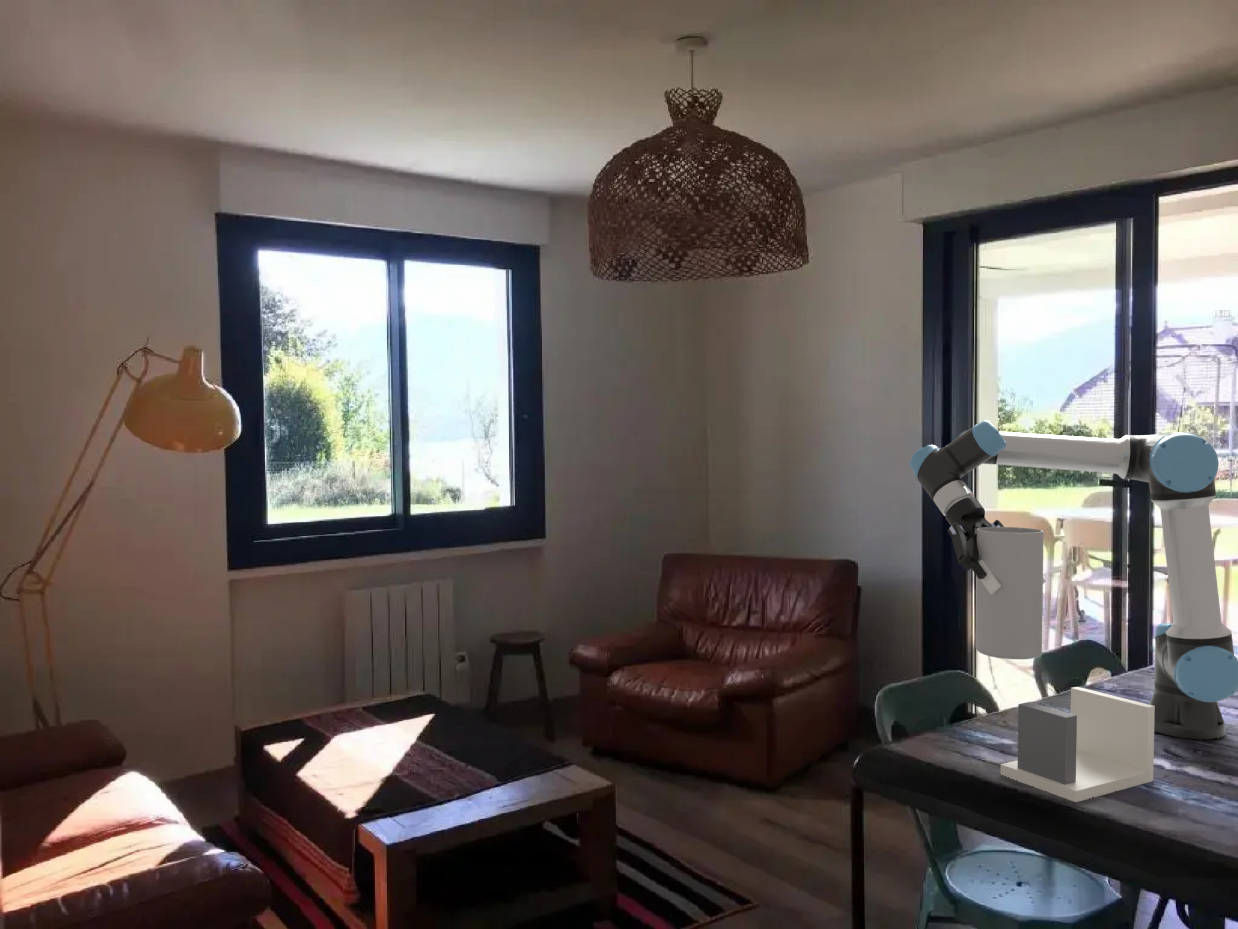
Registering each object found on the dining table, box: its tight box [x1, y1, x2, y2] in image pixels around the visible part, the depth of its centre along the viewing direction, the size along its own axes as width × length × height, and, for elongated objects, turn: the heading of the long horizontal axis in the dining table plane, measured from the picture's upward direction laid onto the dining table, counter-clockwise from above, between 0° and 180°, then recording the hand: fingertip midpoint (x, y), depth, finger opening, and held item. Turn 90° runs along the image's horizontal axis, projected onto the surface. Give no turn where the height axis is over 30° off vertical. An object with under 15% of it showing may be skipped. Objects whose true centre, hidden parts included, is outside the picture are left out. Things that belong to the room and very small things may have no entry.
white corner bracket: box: [1000, 686, 1155, 803], centre depth 186 cm, size 22×16×14 cm
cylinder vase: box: [975, 526, 1045, 660], centre depth 201 cm, size 12×12×25 cm
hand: (1018, 588), depth 199 cm, fingers closed on cylinder vase, 12 cm apart
